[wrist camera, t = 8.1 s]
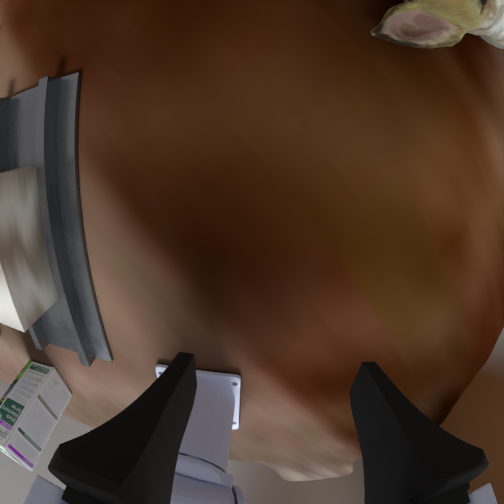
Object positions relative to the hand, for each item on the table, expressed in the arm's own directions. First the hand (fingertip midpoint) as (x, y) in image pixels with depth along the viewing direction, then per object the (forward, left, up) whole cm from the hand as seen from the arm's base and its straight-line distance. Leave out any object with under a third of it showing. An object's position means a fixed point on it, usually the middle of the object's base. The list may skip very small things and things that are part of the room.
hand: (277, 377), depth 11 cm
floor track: (+2, +21, -9) cm, 23 cm away
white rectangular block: (+2, +21, -9) cm, 23 cm away
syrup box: (-19, +28, -10) cm, 35 cm away
